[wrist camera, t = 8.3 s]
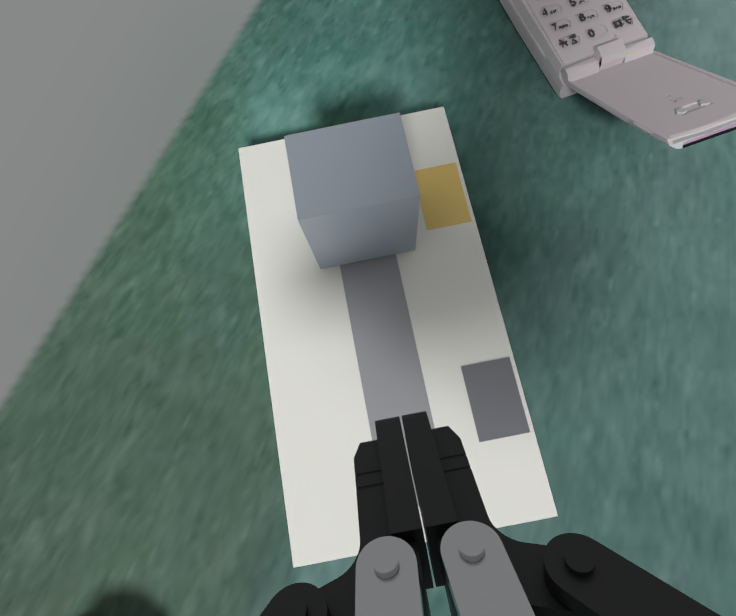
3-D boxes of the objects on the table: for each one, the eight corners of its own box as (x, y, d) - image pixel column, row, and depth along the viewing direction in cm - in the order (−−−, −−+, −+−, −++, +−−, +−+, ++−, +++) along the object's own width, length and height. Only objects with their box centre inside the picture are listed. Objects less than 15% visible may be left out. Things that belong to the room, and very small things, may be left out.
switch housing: (440, 128, 29) (443, 105, 27) (544, 509, 23) (558, 516, 21) (249, 167, 29) (238, 147, 27) (302, 556, 23) (293, 568, 21)
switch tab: (399, 182, 25) (399, 112, 20) (415, 250, 24) (420, 195, 19) (308, 201, 25) (283, 135, 20) (320, 269, 24) (297, 220, 19)
